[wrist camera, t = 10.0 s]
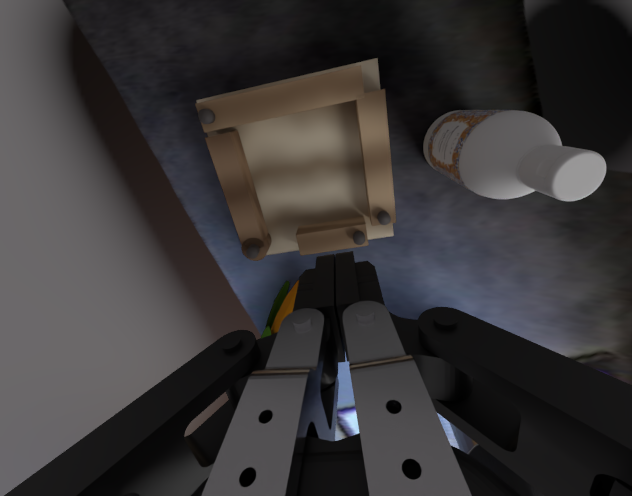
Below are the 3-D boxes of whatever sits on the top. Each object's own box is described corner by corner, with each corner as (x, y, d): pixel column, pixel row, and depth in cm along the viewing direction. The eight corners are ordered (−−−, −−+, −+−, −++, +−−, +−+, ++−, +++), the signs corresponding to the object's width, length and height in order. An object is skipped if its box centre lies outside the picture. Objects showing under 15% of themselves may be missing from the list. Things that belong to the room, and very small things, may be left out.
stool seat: (390, 230, 40) (399, 249, 34) (251, 251, 42) (239, 272, 37) (375, 60, 32) (383, 50, 26) (203, 100, 34) (178, 99, 29)
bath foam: (436, 102, 33) (559, 94, 15) (493, 119, 33) (681, 129, 15) (412, 163, 36) (492, 218, 18) (465, 178, 36) (595, 245, 18)
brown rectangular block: (274, 248, 40) (268, 263, 36) (252, 252, 40) (243, 267, 36) (239, 130, 33) (227, 132, 30) (213, 136, 34) (198, 139, 30)
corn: (246, 391, 44) (276, 285, 36) (255, 353, 51) (282, 256, 42) (293, 400, 45) (334, 299, 37) (296, 361, 52) (331, 268, 44)
